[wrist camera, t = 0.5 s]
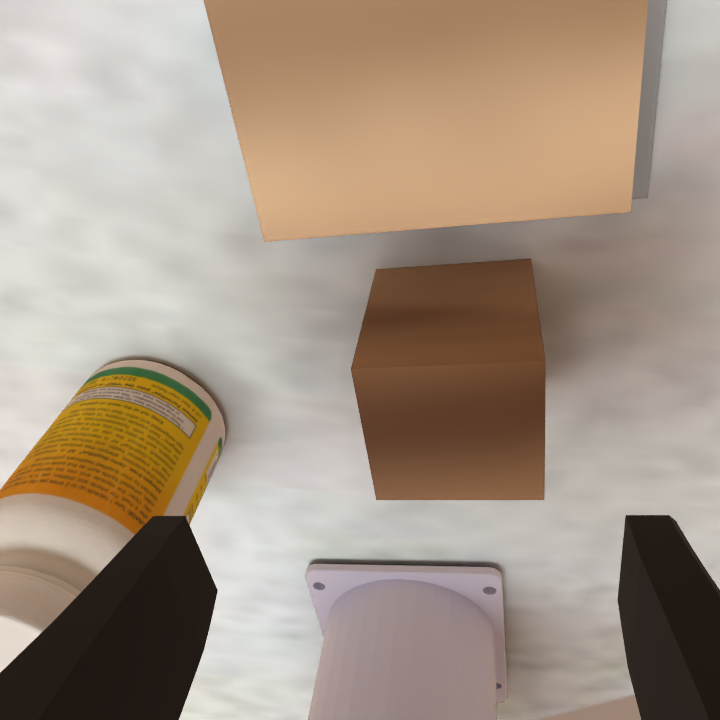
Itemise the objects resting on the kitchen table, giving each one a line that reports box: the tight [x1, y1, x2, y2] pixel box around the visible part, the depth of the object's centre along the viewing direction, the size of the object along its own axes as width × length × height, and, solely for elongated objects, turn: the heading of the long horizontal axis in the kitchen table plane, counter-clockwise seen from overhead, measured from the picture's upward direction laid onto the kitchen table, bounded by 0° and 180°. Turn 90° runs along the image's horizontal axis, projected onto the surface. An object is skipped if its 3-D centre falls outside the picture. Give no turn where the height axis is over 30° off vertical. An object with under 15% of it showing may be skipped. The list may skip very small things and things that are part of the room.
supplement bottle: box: [0, 360, 225, 672], centre depth 20 cm, size 5×5×10 cm
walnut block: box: [351, 259, 545, 500], centre depth 18 cm, size 4×4×5 cm
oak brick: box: [204, 0, 648, 242], centre depth 14 cm, size 8×8×3 cm
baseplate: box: [632, 0, 667, 199], centre depth 15 cm, size 10×10×1 cm
